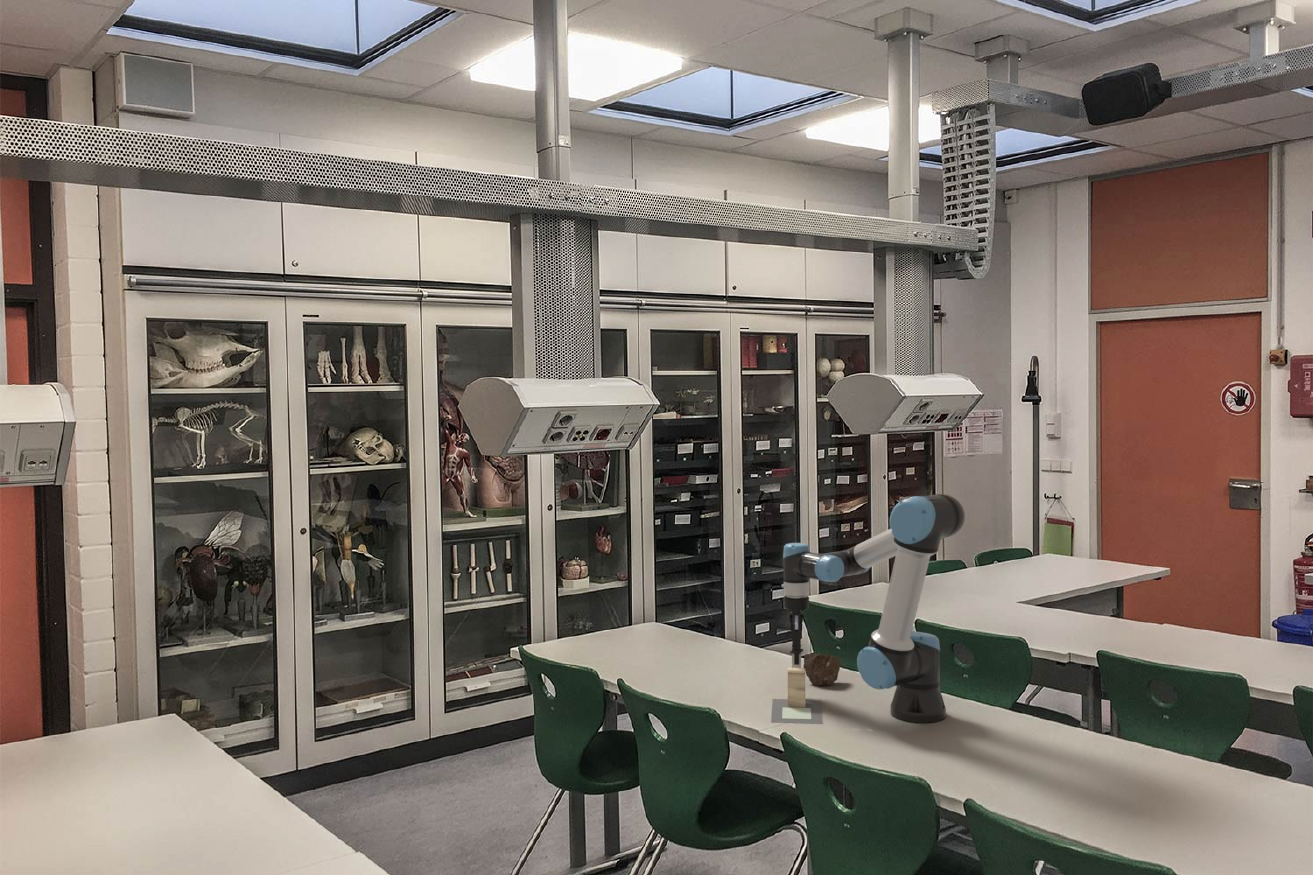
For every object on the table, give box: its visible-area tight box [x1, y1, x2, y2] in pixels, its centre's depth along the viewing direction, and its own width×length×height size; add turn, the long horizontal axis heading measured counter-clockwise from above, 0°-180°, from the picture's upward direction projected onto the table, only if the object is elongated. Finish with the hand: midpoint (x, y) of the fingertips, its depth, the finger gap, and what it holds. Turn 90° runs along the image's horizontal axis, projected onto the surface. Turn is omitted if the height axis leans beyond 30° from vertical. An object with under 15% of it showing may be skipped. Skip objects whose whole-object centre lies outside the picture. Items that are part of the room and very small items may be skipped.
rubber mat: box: [770, 698, 824, 725], centre depth 294 cm, size 22×14×1 cm, turn 173°
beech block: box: [787, 667, 806, 707], centre depth 299 cm, size 5×5×10 cm
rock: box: [802, 653, 842, 687], centre depth 320 cm, size 12×10×10 cm
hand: (796, 674), depth 308 cm, fingers closed
